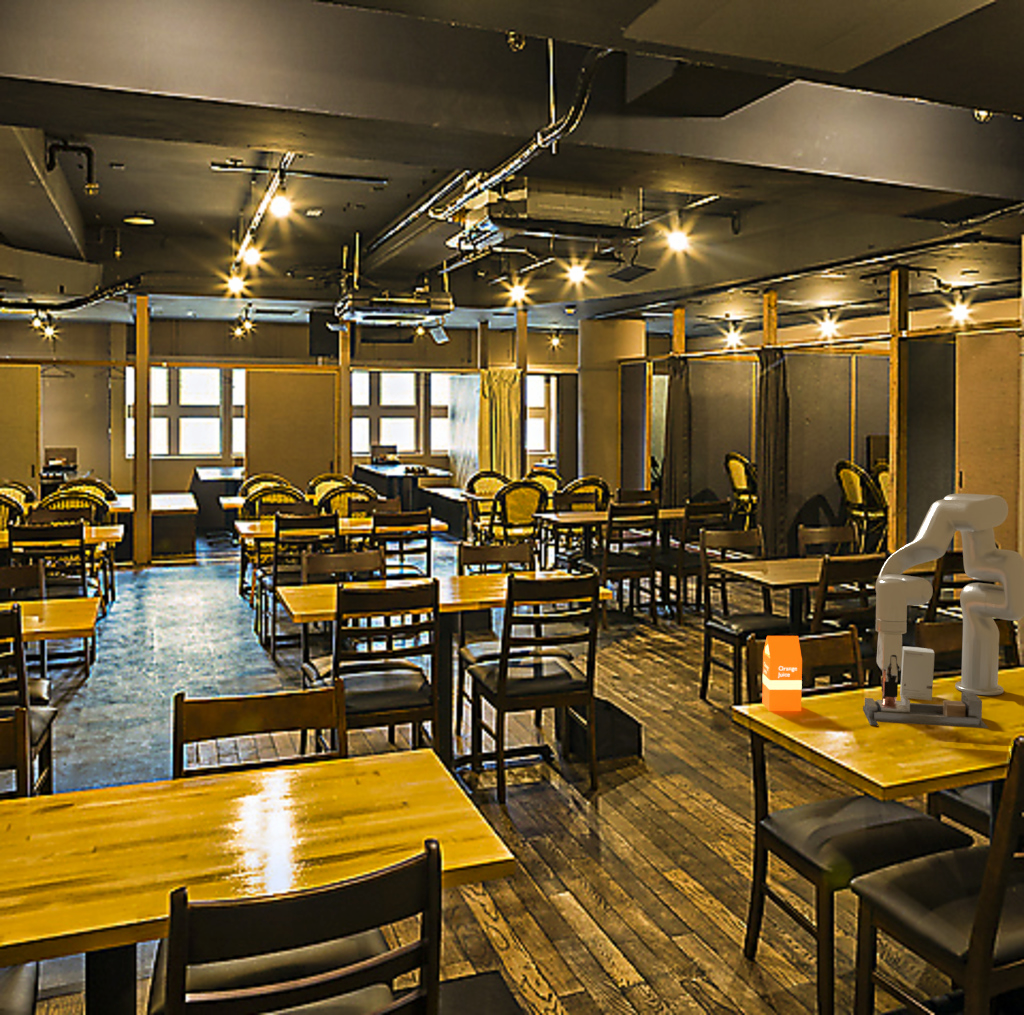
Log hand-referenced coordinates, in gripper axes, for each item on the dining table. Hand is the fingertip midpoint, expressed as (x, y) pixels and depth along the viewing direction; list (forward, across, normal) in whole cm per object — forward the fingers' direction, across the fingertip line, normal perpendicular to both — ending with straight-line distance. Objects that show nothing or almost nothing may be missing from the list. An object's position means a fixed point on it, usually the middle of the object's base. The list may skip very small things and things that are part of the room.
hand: (889, 693), depth 244 cm
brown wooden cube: (+6, 0, +16) cm, 17 cm away
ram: (+5, 0, +1) cm, 5 cm away
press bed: (+7, 0, +8) cm, 11 cm away
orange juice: (+7, -6, -27) cm, 29 cm away
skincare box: (+7, -20, +10) cm, 24 cm away
